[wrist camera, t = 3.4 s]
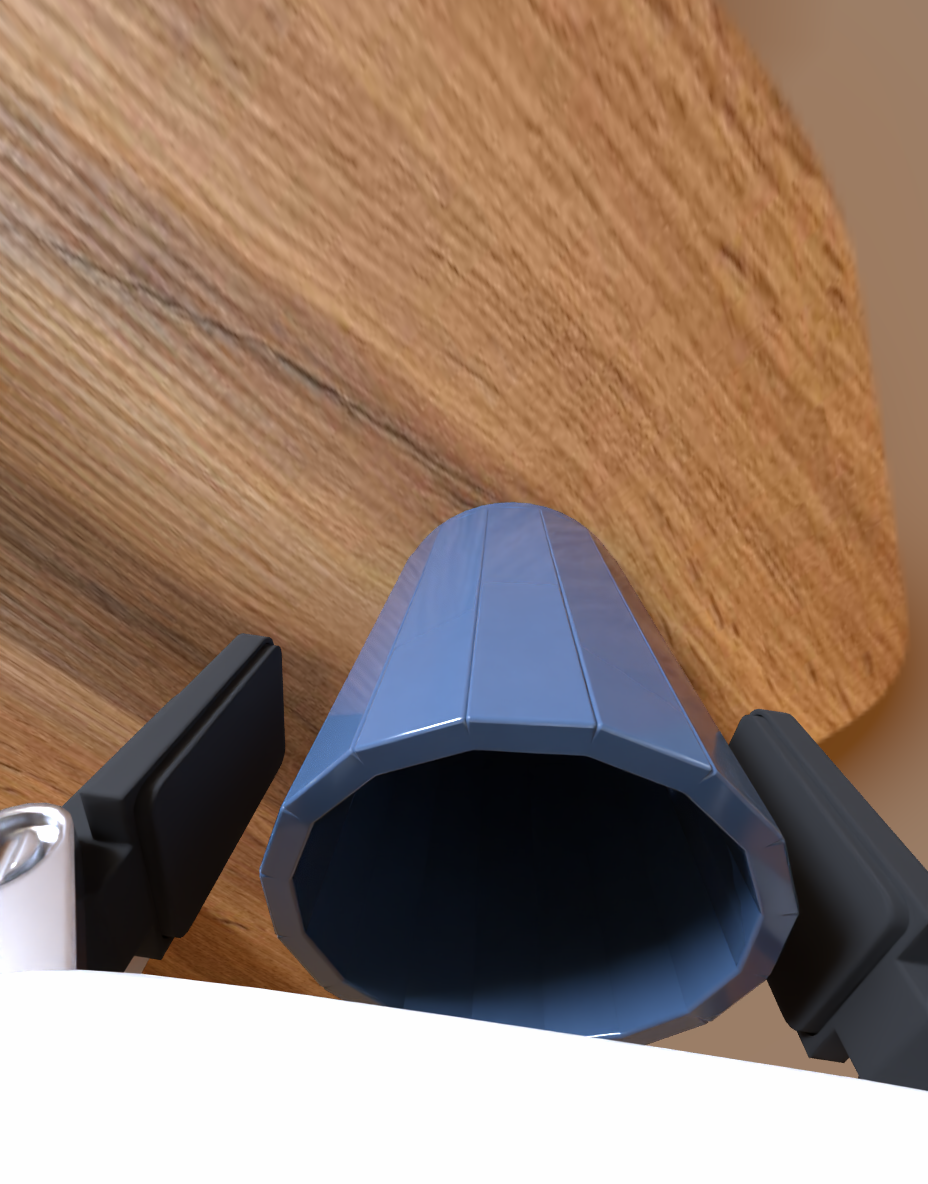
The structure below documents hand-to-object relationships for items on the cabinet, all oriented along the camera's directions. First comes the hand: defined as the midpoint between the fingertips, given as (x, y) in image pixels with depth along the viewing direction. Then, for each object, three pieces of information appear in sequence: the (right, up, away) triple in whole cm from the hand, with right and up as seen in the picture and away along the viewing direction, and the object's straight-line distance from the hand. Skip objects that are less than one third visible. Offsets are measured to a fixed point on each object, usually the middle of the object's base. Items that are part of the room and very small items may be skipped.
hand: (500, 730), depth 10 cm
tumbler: (+1, +2, +5) cm, 5 cm away
